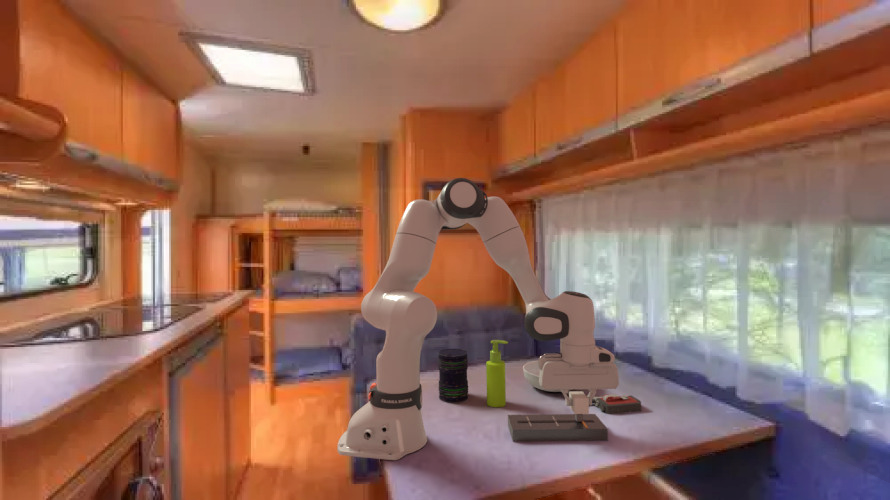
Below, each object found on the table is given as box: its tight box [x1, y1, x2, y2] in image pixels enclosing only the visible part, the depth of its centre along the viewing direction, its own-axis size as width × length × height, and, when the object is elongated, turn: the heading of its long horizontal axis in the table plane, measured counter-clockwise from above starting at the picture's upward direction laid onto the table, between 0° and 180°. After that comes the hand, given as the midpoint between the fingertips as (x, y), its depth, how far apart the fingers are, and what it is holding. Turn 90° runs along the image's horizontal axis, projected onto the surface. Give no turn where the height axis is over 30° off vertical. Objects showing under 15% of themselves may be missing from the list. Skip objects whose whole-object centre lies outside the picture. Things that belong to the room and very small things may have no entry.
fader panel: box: [507, 413, 609, 442], centre depth 106 cm, size 24×9×3 cm, turn 89°
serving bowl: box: [522, 360, 575, 393], centre depth 140 cm, size 21×21×7 cm
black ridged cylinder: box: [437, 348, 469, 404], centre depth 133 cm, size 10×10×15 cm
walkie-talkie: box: [592, 393, 642, 415], centre depth 122 cm, size 9×4×20 cm
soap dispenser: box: [485, 339, 509, 408], centre depth 126 cm, size 6×7×20 cm
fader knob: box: [568, 390, 590, 421], centre depth 106 cm, size 4×5×7 cm
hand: (578, 404), depth 106 cm, fingers closed on fader knob, 4 cm apart
